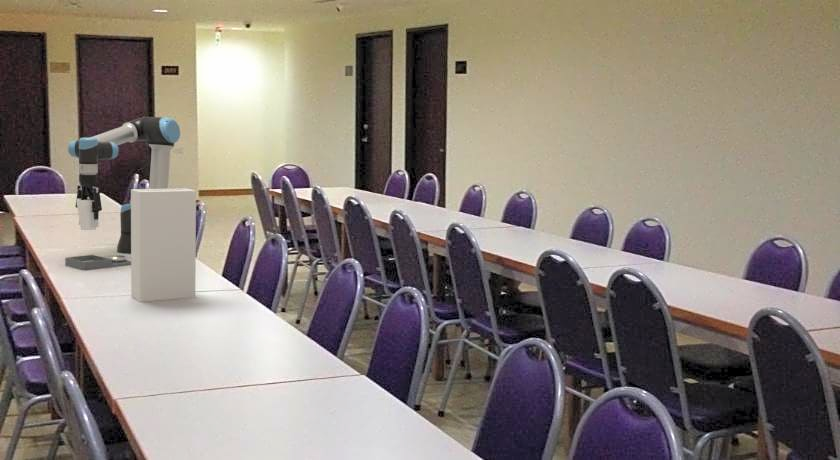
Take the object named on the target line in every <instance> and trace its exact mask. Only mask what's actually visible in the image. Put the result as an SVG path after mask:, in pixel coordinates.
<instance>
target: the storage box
mask: <svg viewBox="0 0 840 460" xmlns="http://www.w3.org/2000/svg"><path fill="white" fill-rule="evenodd" d="M130 204H131V253H130V259H131V260H130V261H131V265H130V267H131V268H130V271H131V272H130V276H131V277H130V278H131V281H130V282H131V284H130V285H131V286H130V287H131V288H130V291H131V292H130V293H131V294H130V295H131V296H130V297H131V298H132V299H134V300H137V301H138V302H139V303H143V302H154V301H155V302H157V301H165V300H166V301H167V300H178V299H192V298H196V267H197V266H196V263H197V262H196V259H197V258H196V257H197V256H196V253H197V252H196V245H197V243H196V242H197V236H196V235H197V228H196V227H197V226H196V225H197V222H196V221H197V191H196V190H195V189H190V188H185V187H184V188H183V187H182V188H168V189H149V188H135V189H133V188H131V189H130Z"/></svg>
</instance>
